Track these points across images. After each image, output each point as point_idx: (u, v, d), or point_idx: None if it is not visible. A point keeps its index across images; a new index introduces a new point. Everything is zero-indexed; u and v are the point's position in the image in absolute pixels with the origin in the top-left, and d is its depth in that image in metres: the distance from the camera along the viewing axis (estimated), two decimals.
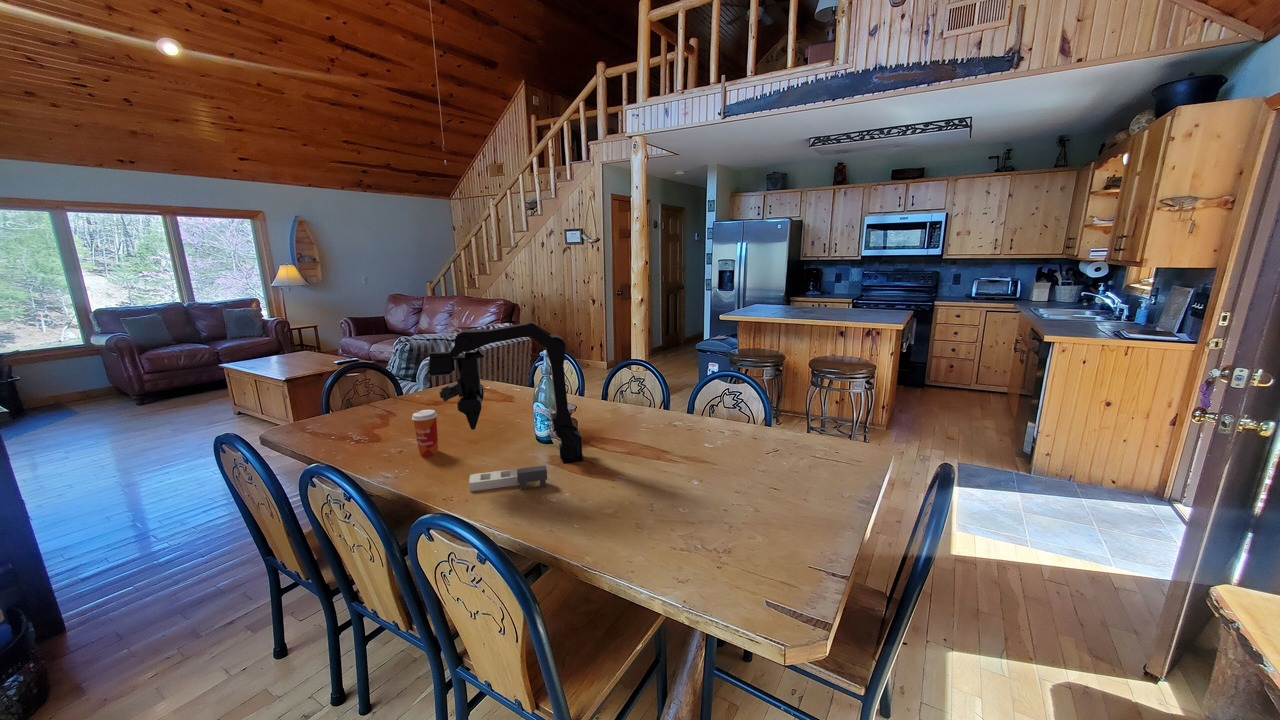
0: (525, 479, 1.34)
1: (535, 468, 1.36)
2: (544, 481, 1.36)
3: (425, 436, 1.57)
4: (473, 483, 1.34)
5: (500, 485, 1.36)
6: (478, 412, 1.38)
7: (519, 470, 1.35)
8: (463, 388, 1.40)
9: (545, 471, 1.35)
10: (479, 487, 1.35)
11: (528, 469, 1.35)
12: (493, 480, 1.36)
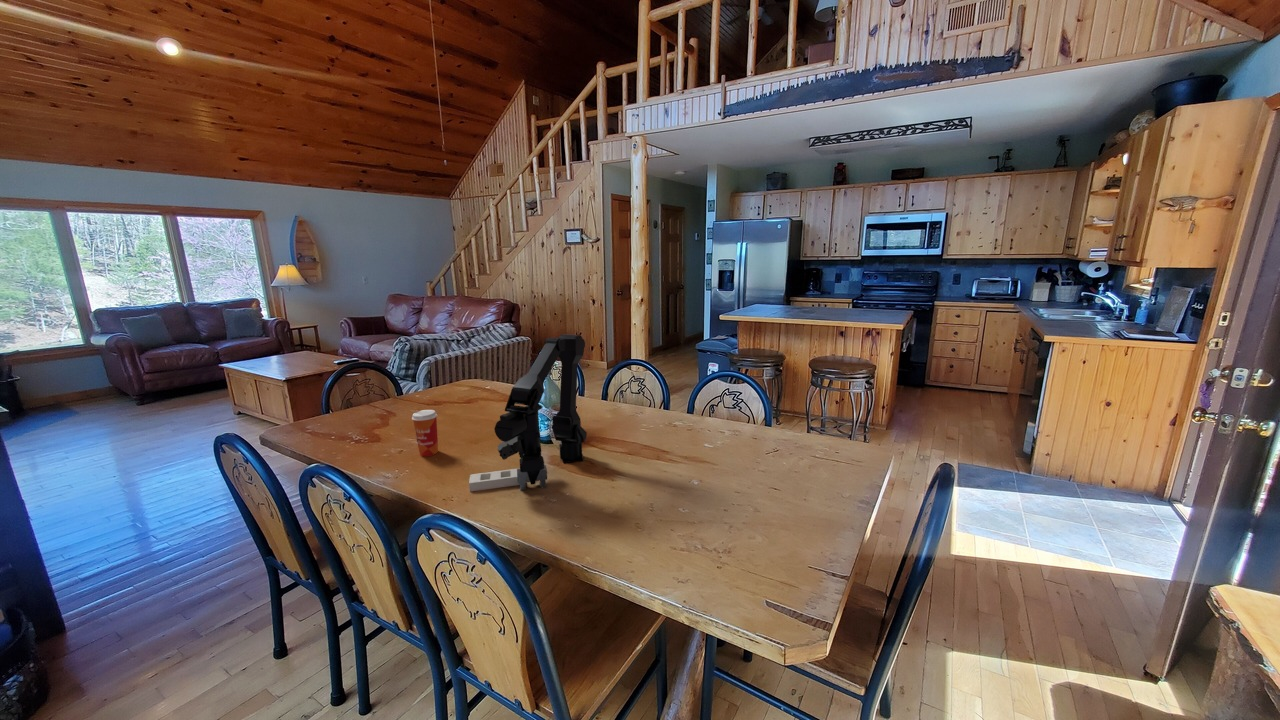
0: (525, 479, 1.34)
1: None
2: (544, 481, 1.36)
3: (425, 436, 1.57)
4: (473, 483, 1.34)
5: (500, 485, 1.36)
6: None
7: (519, 470, 1.35)
8: (523, 445, 1.31)
9: (545, 471, 1.35)
10: (479, 487, 1.35)
11: None
12: (493, 480, 1.36)
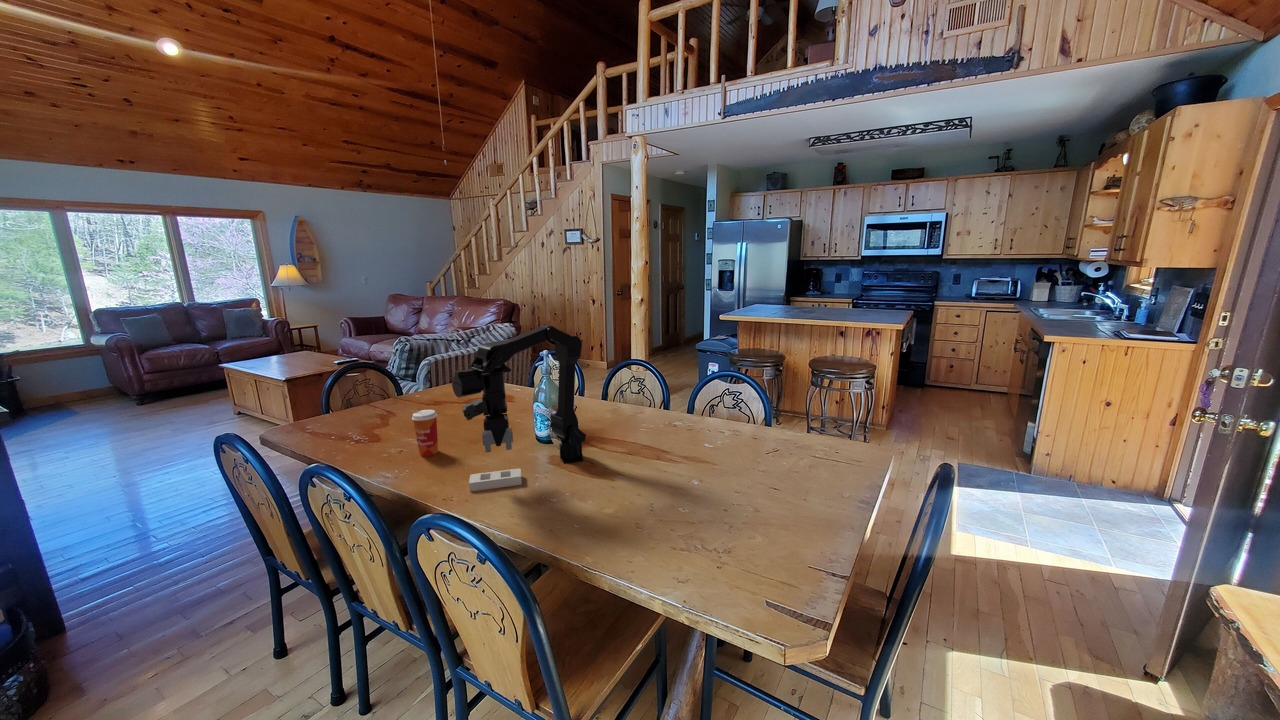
0: (490, 441, 1.33)
1: None
2: (510, 443, 1.35)
3: (425, 436, 1.57)
4: (473, 483, 1.34)
5: (500, 485, 1.36)
6: (504, 428, 1.32)
7: (484, 432, 1.34)
8: (488, 406, 1.30)
9: (511, 433, 1.34)
10: (479, 487, 1.35)
11: None
12: (493, 480, 1.36)
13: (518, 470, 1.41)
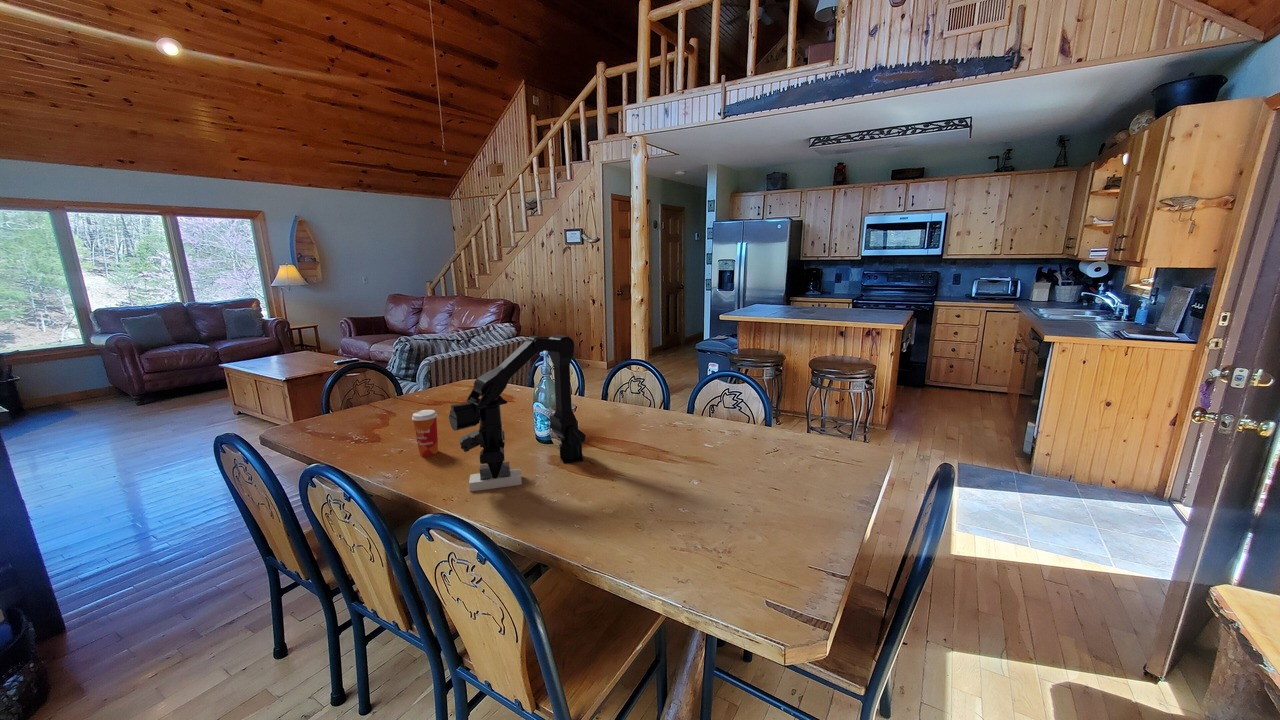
0: (488, 475, 1.36)
1: None
2: None
3: (425, 436, 1.57)
4: (473, 483, 1.34)
5: (500, 485, 1.36)
6: (501, 461, 1.33)
7: (482, 466, 1.37)
8: (485, 438, 1.33)
9: (508, 467, 1.37)
10: (479, 487, 1.35)
11: None
12: (493, 480, 1.36)
13: (518, 470, 1.41)
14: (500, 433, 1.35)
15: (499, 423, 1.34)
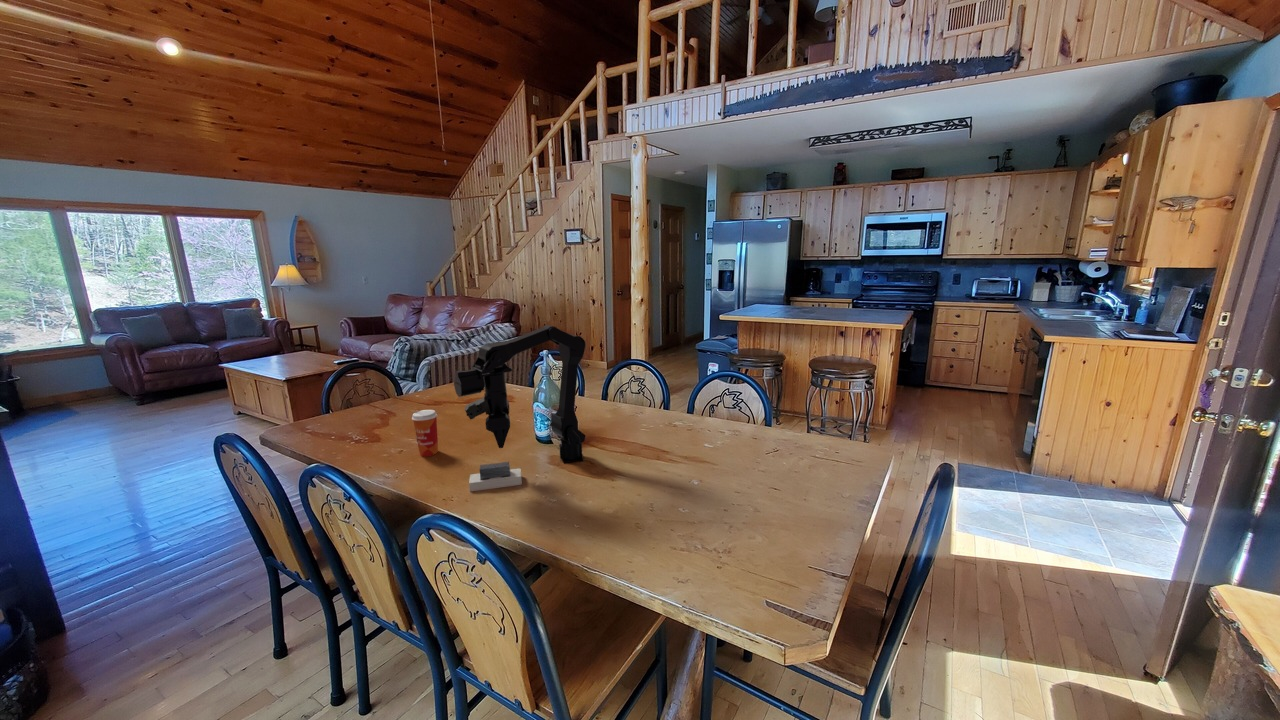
0: (488, 475, 1.36)
1: (498, 464, 1.38)
2: None
3: (425, 436, 1.57)
4: (473, 483, 1.34)
5: (500, 485, 1.36)
6: (506, 430, 1.32)
7: (482, 466, 1.37)
8: (490, 405, 1.34)
9: (508, 467, 1.37)
10: (479, 487, 1.35)
11: (491, 466, 1.37)
12: (493, 480, 1.36)
13: (518, 470, 1.41)
14: (505, 400, 1.35)
15: (504, 390, 1.34)
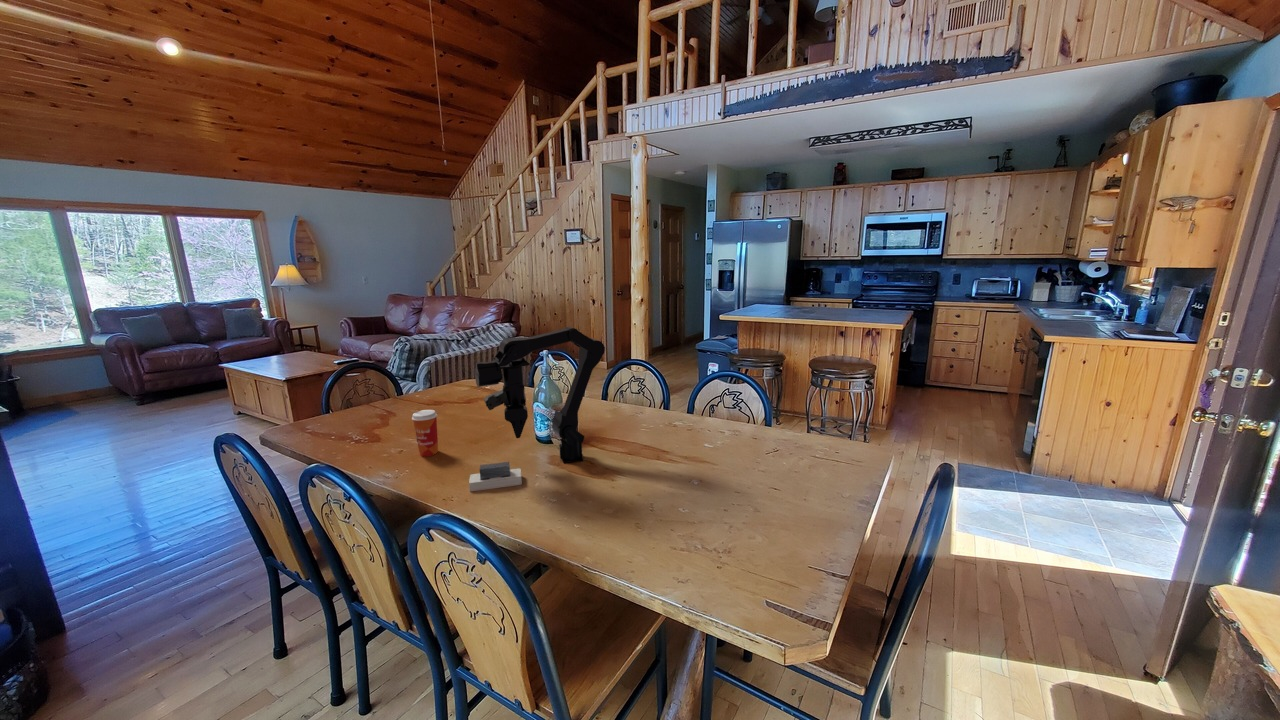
0: (488, 475, 1.36)
1: (498, 464, 1.38)
2: None
3: (425, 436, 1.57)
4: (473, 483, 1.34)
5: (500, 485, 1.36)
6: (524, 421, 1.38)
7: (482, 466, 1.37)
8: (508, 397, 1.39)
9: (508, 467, 1.37)
10: (479, 487, 1.35)
11: (491, 466, 1.37)
12: (493, 480, 1.36)
13: (518, 470, 1.41)
14: (523, 393, 1.41)
15: (522, 383, 1.40)
